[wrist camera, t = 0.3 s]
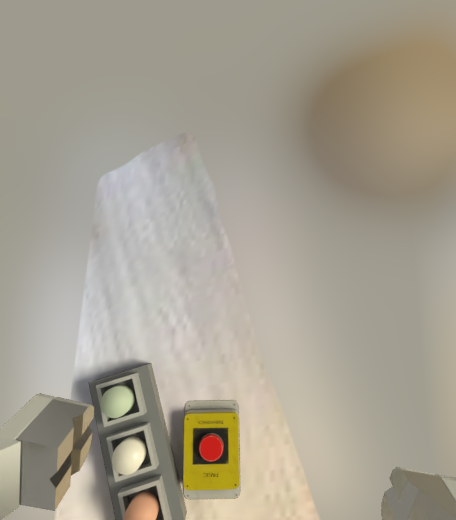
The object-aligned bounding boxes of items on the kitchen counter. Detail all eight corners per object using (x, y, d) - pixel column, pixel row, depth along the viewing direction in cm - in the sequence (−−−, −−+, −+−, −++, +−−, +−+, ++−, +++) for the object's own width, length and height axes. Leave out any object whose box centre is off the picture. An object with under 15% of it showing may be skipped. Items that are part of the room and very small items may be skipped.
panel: (186, 511, 55) (183, 528, 50) (126, 532, 54) (116, 551, 49) (151, 363, 60) (144, 365, 55) (95, 380, 59) (83, 384, 54)
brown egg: (162, 518, 51) (158, 529, 48) (133, 528, 50) (128, 540, 48) (155, 487, 52) (151, 496, 49) (127, 496, 51) (121, 506, 48)
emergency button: (239, 404, 55) (241, 509, 52) (238, 399, 59) (240, 496, 56) (182, 404, 55) (180, 510, 51) (185, 400, 59) (183, 497, 56)
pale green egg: (137, 409, 54) (132, 412, 51) (110, 417, 54) (104, 422, 51) (131, 381, 55) (126, 383, 52) (104, 389, 55) (98, 392, 52)
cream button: (149, 462, 53) (145, 469, 50) (121, 471, 52) (115, 479, 49) (142, 432, 53) (138, 437, 51) (115, 441, 53) (109, 447, 50)
